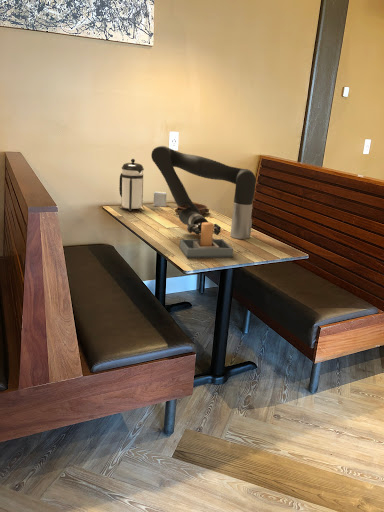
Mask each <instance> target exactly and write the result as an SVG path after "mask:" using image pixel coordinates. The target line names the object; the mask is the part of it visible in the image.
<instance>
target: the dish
mask: <svg viewBox="0 0 384 512" xmlns="http://www.w3.org/2000/svg"><path fill="white" fill-rule="evenodd" d="M193 203H194V205H195V206H196V207H197V208H198V209H199V211H200V215H202V216H203V215H204V214H205V213H209V211H210V208H208V206H207V205H205V204H201V203H195V202H193ZM176 206H177V207H176V208H175V210H174V212H175V213H176V214H179V213H180V212H181V211H182V210H184V209H186V208H188V207H189V205H187V204H185V205H181V206H178V205H177V204H176Z"/></svg>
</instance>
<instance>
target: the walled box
mask: <svg viewBox="0 0 384 512" xmlns="http://www.w3.org/2000/svg"><path fill="white" fill-rule="evenodd" d="M200 240H201V238H200V239H199V238H197V239H195V238H194V239H193V238H191V239H186V238H185V239H179V250H180V251H181V252H182V254H183V255H184V257H185V258H186V259H226V258H227V259H228V258H229V259H230V258H231V259H232V258H233V255H234V248H233V247H232V246H231V245H230V244H229V243H228V242H227V241H225V239H223V238H218V239H217V238H215V239H213V238H212V246H208V247H200Z"/></svg>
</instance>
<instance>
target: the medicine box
mask: <svg viewBox="0 0 384 512" xmlns="http://www.w3.org/2000/svg"><path fill="white" fill-rule="evenodd" d="M152 205H153V207H165V208H166V207H167V192H166V191H154V193H153V204H152Z"/></svg>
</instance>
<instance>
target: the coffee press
mask: <svg viewBox="0 0 384 512" xmlns="http://www.w3.org/2000/svg"><path fill="white" fill-rule="evenodd" d="M130 161H131V162H125V163H123V165H122V167H121V171H122V172H120V175H119V187H118V189H119V196H120V197H121V204H120V206H119V207H118V208H119V209H120V210H122V209H123V208H124V209H128V212H129V213H131V212H132V210H135V209H141V211H143V209H145V206H143V201H144V200H143V198H144V170H145V168H144V166H143V165H142V164H141V163H137V162H136V160H135V158H131V160H130Z"/></svg>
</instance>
